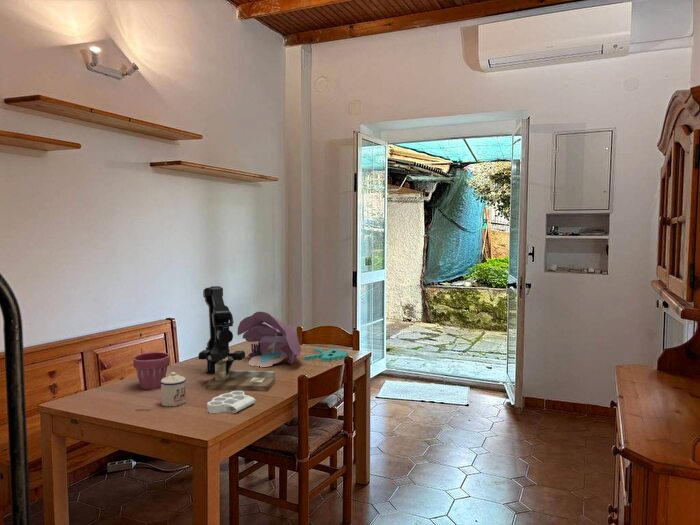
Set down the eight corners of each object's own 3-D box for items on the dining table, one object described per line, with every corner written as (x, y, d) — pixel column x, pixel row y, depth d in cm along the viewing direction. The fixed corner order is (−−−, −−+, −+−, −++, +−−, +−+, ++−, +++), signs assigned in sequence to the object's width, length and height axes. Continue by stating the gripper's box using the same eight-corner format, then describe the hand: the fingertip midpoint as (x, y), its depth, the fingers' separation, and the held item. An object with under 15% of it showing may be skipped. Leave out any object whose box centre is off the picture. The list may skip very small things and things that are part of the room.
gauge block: (215, 380, 208) (215, 364, 208) (219, 376, 214) (219, 360, 214) (224, 380, 208) (224, 364, 207) (228, 376, 214) (228, 360, 213)
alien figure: (304, 360, 252) (342, 363, 248) (304, 356, 252) (342, 358, 248) (314, 351, 271) (350, 353, 267) (314, 347, 271) (350, 349, 267)
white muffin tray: (230, 418, 173) (197, 411, 179) (260, 402, 189) (229, 397, 195) (230, 408, 172) (197, 402, 178) (260, 393, 189) (229, 388, 195)
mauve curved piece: (231, 374, 243) (219, 320, 237) (253, 354, 265) (242, 304, 259) (296, 373, 232) (286, 316, 226) (313, 352, 254) (304, 300, 248)
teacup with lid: (176, 408, 181) (176, 376, 180) (155, 405, 184) (155, 374, 183) (195, 397, 193) (195, 368, 192) (175, 395, 195) (174, 366, 194)
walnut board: (205, 389, 203) (205, 378, 203) (216, 380, 216) (216, 370, 216) (268, 391, 201) (268, 380, 201) (275, 381, 214) (275, 371, 214)
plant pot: (151, 393, 198) (150, 361, 197) (126, 388, 204) (125, 357, 203) (177, 383, 211) (177, 354, 210) (153, 379, 217) (152, 350, 216)
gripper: (193, 342, 203) (193, 379, 203) (237, 343, 201) (238, 381, 202) (203, 336, 214) (203, 372, 215) (245, 337, 212) (245, 373, 213)
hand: (222, 374), depth 211 cm, fingers closed on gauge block, 4 cm apart
